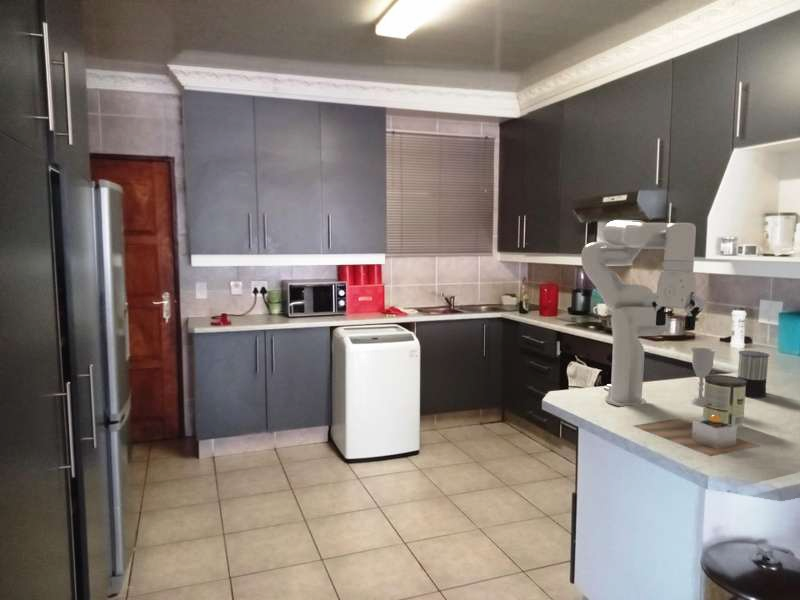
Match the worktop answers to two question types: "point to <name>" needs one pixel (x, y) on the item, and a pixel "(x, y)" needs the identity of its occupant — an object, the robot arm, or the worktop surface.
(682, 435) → the board
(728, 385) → the coffee can
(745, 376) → the milk frother
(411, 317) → the worktop surface
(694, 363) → the chalice
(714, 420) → the post
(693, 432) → the white hollow square box
